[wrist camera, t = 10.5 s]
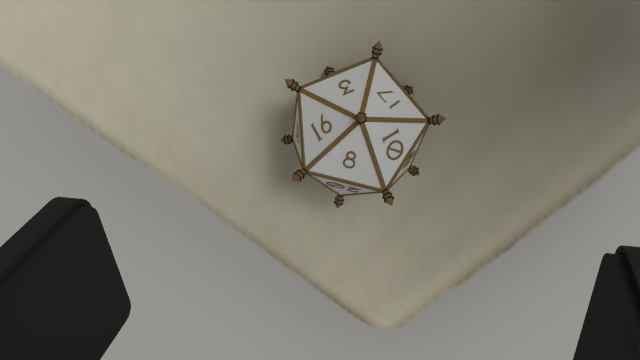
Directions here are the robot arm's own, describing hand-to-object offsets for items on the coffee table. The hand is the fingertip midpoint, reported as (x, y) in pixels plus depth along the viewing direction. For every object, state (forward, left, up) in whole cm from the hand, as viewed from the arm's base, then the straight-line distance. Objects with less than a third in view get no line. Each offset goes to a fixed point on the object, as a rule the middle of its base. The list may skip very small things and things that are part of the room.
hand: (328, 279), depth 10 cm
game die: (+1, +2, -20) cm, 20 cm away
